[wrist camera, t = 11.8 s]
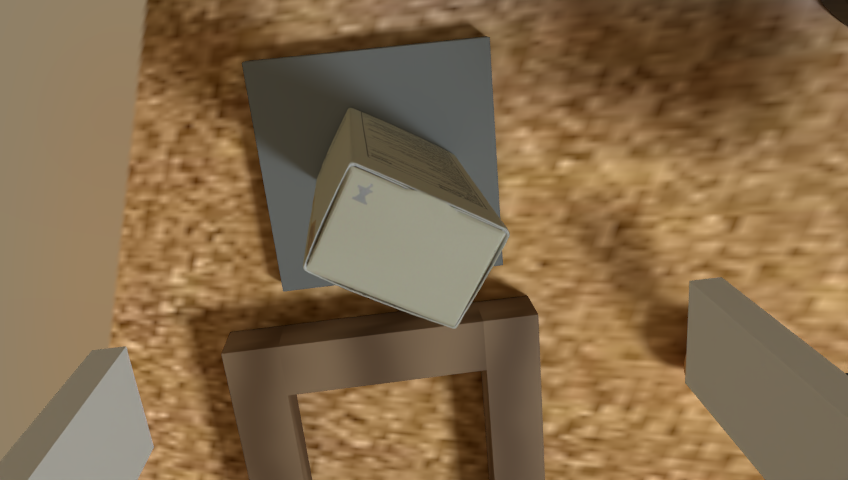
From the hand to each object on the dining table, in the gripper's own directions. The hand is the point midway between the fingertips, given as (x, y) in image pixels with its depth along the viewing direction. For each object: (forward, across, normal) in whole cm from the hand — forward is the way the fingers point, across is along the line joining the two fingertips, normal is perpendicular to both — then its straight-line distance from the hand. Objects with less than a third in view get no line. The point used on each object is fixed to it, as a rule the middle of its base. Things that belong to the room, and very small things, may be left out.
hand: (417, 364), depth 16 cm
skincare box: (+20, 0, 0) cm, 20 cm away
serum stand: (+21, -2, -17) cm, 27 cm away
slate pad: (+21, -1, 0) cm, 21 cm away
